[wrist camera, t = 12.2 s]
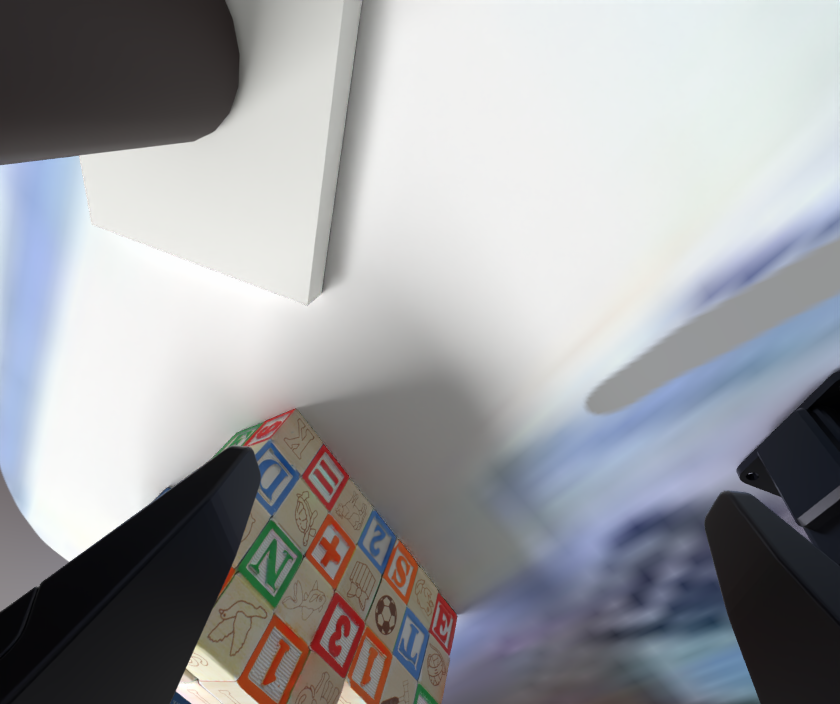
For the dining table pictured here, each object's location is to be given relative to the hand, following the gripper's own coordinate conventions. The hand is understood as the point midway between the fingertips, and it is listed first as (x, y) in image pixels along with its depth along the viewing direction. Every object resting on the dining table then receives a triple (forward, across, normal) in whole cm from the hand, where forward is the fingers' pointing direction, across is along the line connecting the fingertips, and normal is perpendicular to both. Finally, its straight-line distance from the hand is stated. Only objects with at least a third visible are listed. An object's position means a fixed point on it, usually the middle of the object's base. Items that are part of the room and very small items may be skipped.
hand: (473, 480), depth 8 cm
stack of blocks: (+13, +7, +22) cm, 26 cm away
